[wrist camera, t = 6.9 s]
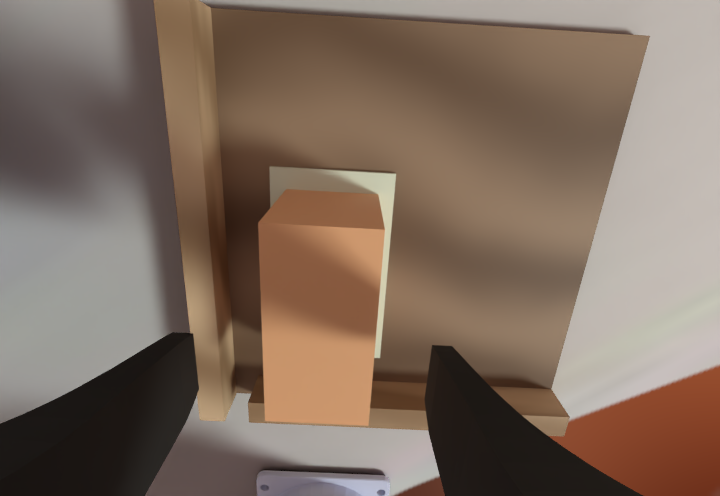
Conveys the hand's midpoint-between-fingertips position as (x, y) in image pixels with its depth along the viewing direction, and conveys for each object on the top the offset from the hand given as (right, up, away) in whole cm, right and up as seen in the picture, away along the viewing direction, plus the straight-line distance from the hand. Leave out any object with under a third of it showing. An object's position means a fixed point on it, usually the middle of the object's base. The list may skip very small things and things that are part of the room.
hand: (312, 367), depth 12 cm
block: (0, +2, +7) cm, 7 cm away
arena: (+3, +4, +7) cm, 9 cm away
